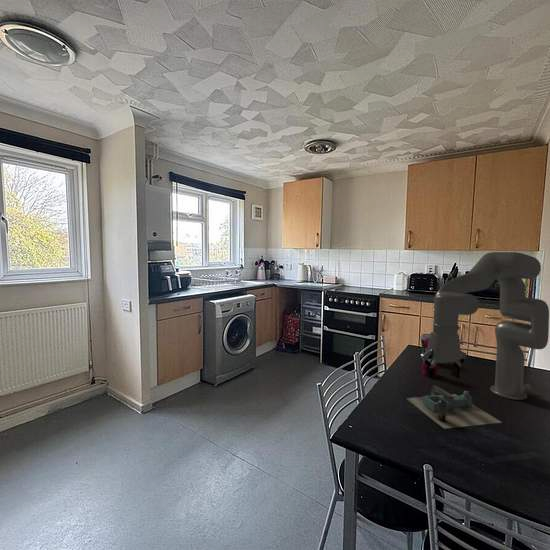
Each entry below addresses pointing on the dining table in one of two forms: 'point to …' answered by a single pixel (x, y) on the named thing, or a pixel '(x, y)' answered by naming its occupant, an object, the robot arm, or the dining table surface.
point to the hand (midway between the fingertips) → (442, 377)
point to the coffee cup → (423, 338)
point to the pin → (442, 410)
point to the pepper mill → (428, 359)
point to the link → (448, 401)
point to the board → (454, 412)
